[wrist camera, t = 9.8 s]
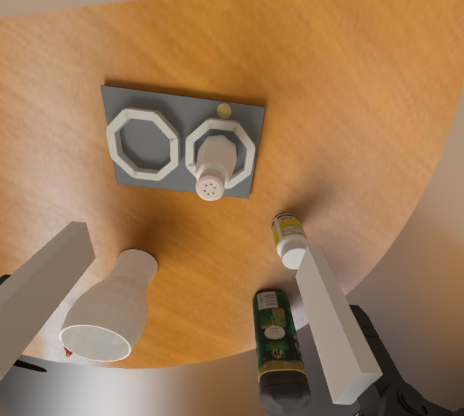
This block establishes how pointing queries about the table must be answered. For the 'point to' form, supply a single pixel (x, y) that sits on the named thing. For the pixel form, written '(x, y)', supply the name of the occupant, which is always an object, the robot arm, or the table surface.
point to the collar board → (185, 122)
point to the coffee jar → (279, 356)
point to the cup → (111, 310)
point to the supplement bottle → (289, 239)
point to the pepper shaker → (214, 166)
